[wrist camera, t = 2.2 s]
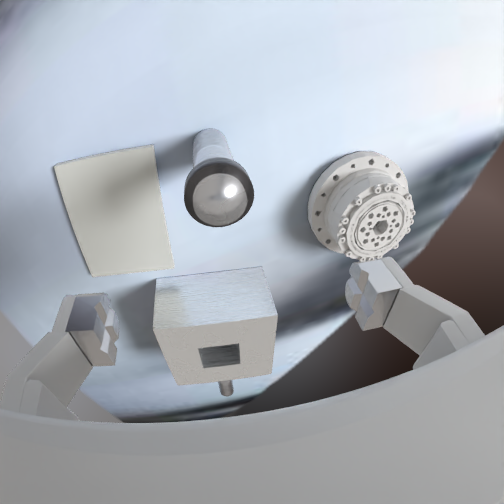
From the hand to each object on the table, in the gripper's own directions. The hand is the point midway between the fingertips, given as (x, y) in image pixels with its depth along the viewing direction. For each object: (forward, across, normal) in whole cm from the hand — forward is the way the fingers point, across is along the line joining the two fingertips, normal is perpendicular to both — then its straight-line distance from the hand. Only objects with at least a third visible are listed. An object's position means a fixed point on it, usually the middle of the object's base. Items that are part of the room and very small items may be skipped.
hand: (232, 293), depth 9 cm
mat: (+14, +8, +4) cm, 17 cm away
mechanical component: (+14, -13, +5) cm, 20 cm away
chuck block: (+15, +1, +21) cm, 25 cm away
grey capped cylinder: (+14, 0, -1) cm, 14 cm away
